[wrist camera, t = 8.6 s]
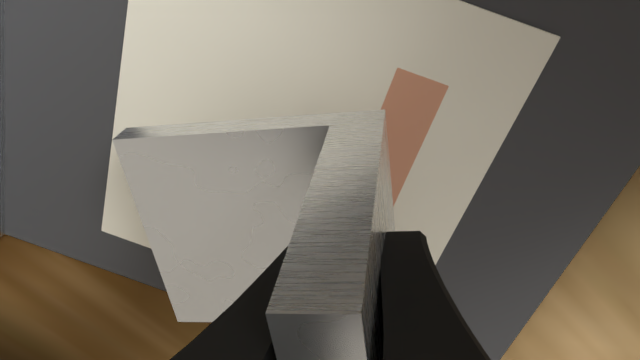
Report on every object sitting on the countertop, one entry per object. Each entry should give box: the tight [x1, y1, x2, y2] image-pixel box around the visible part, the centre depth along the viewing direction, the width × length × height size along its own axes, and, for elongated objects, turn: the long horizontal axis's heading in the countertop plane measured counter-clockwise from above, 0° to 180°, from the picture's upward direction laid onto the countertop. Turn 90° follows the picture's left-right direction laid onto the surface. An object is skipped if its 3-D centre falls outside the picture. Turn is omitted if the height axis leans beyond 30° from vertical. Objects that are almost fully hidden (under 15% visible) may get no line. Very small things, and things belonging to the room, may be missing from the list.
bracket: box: [112, 109, 395, 360], centre depth 9 cm, size 6×5×6 cm
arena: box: [0, 0, 640, 360], centre depth 11 cm, size 16×15×3 cm
